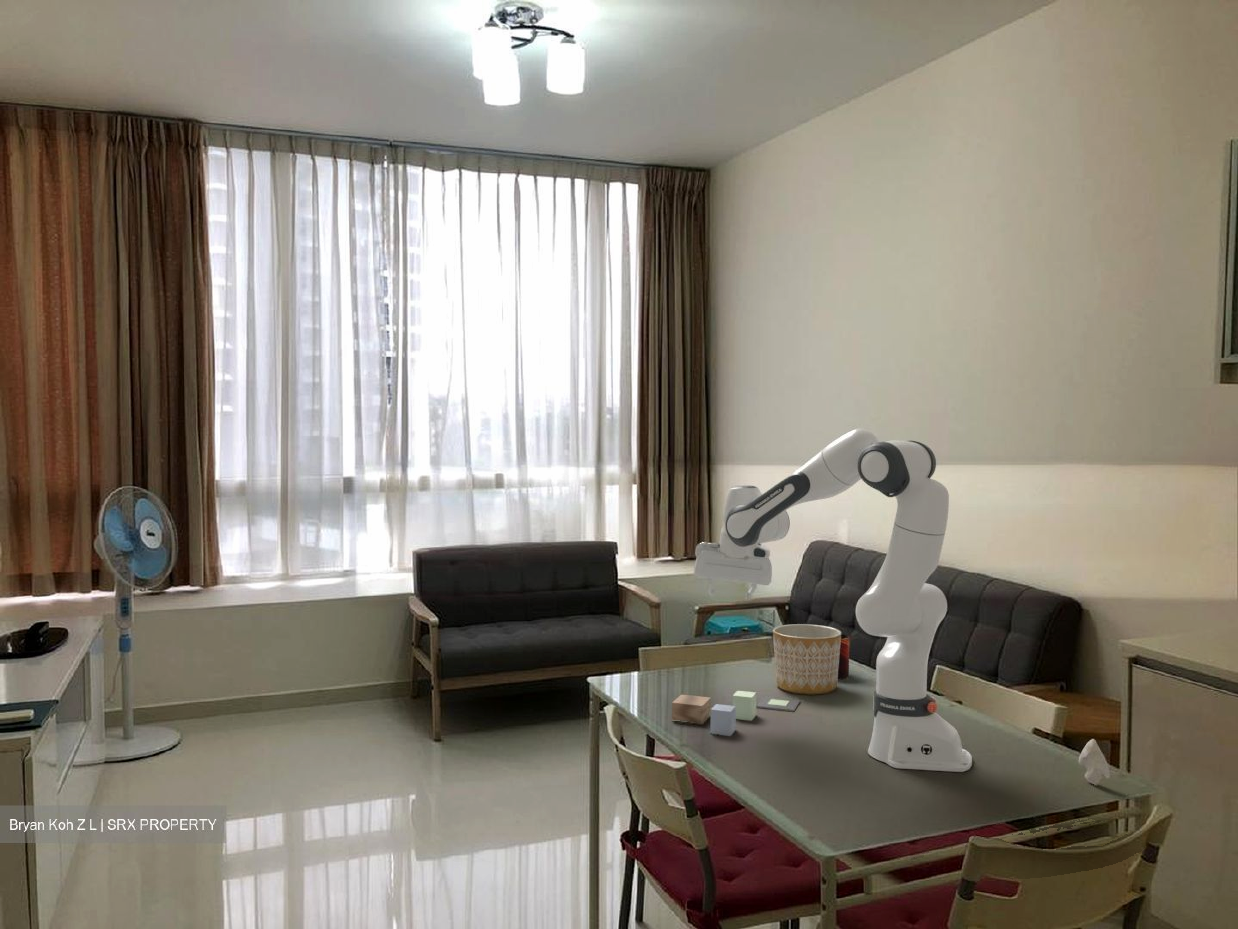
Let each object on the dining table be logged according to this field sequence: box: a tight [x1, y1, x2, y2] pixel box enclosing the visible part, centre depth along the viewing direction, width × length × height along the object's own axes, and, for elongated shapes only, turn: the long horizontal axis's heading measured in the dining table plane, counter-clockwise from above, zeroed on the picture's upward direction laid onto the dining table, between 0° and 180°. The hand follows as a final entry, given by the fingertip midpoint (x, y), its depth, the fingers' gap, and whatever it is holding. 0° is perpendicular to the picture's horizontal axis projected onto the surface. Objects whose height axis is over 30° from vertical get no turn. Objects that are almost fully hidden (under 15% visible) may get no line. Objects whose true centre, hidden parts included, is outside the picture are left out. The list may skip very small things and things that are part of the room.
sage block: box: [732, 690, 757, 722], centre depth 248 cm, size 5×5×6 cm
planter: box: [772, 623, 842, 696], centre depth 276 cm, size 19×19×16 cm
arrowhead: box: [1077, 738, 1111, 786], centre depth 200 cm, size 8×3×10 cm, turn 21°
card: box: [756, 695, 801, 713], centre depth 259 cm, size 10×10×1 cm
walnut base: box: [671, 694, 712, 725], centre depth 246 cm, size 8×8×5 cm
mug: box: [837, 633, 850, 680], centre depth 292 cm, size 10×14×12 cm
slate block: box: [710, 703, 737, 737], centre depth 236 cm, size 5×5×6 cm
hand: (729, 596), depth 252 cm, fingers open, 8 cm apart
